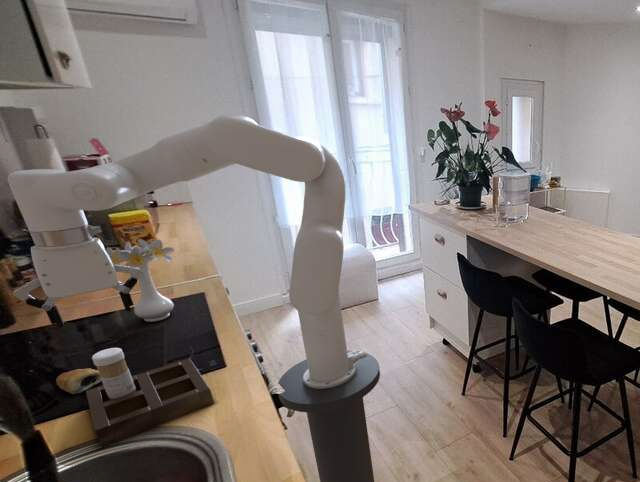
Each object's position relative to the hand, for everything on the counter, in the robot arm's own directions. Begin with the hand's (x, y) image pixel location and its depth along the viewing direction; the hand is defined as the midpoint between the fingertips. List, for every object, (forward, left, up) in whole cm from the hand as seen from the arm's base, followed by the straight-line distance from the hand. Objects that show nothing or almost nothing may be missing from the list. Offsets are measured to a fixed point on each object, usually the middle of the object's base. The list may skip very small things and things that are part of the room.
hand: (96, 317), depth 83 cm
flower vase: (-12, -48, -22) cm, 54 cm away
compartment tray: (-4, +4, -22) cm, 22 cm away
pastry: (+6, -17, -22) cm, 29 cm away
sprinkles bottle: (0, 0, -22) cm, 22 cm away
